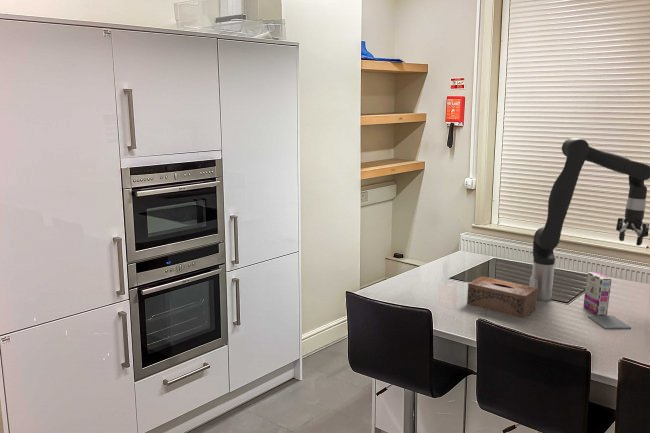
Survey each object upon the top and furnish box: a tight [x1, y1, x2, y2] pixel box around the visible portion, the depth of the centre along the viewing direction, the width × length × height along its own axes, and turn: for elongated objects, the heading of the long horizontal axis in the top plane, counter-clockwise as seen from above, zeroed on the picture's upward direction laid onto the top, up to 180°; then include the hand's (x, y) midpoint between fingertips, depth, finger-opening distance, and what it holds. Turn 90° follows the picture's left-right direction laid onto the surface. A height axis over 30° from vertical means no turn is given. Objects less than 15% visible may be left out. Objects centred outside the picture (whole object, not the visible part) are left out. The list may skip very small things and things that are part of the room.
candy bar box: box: [582, 271, 612, 316], centre depth 241 cm, size 11×5×16 cm, turn 5°
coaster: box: [587, 315, 632, 330], centre depth 229 cm, size 11×13×1 cm
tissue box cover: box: [466, 276, 537, 319], centre depth 245 cm, size 26×14×10 cm, turn 51°
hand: (629, 243), depth 252 cm, fingers open, 8 cm apart
